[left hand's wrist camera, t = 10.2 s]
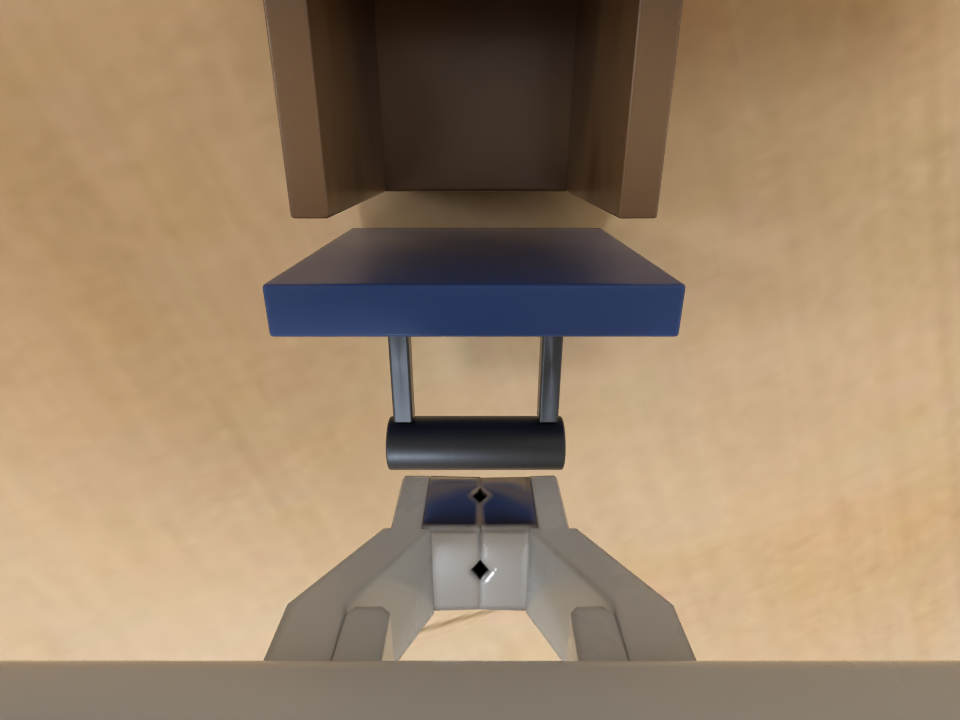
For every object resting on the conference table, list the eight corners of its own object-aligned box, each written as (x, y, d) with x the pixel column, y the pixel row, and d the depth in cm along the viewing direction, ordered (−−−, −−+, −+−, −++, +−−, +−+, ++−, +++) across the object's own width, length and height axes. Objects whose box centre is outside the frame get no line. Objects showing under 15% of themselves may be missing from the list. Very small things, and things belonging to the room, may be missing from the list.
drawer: (586, 400, 22) (648, 545, 14) (366, 400, 22) (301, 545, 14) (640, -235, 15) (832, -691, 7) (309, -235, 15) (107, -692, 7)
